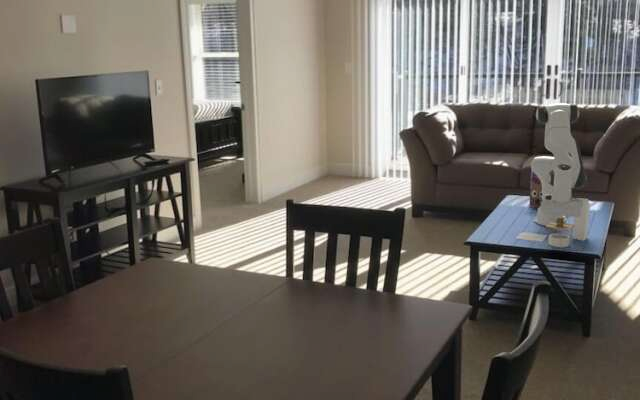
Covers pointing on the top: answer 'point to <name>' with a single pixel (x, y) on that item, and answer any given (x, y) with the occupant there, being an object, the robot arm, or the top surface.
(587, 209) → the milk
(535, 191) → the cereal box
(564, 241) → the bowl
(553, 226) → the lid
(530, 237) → the mat
